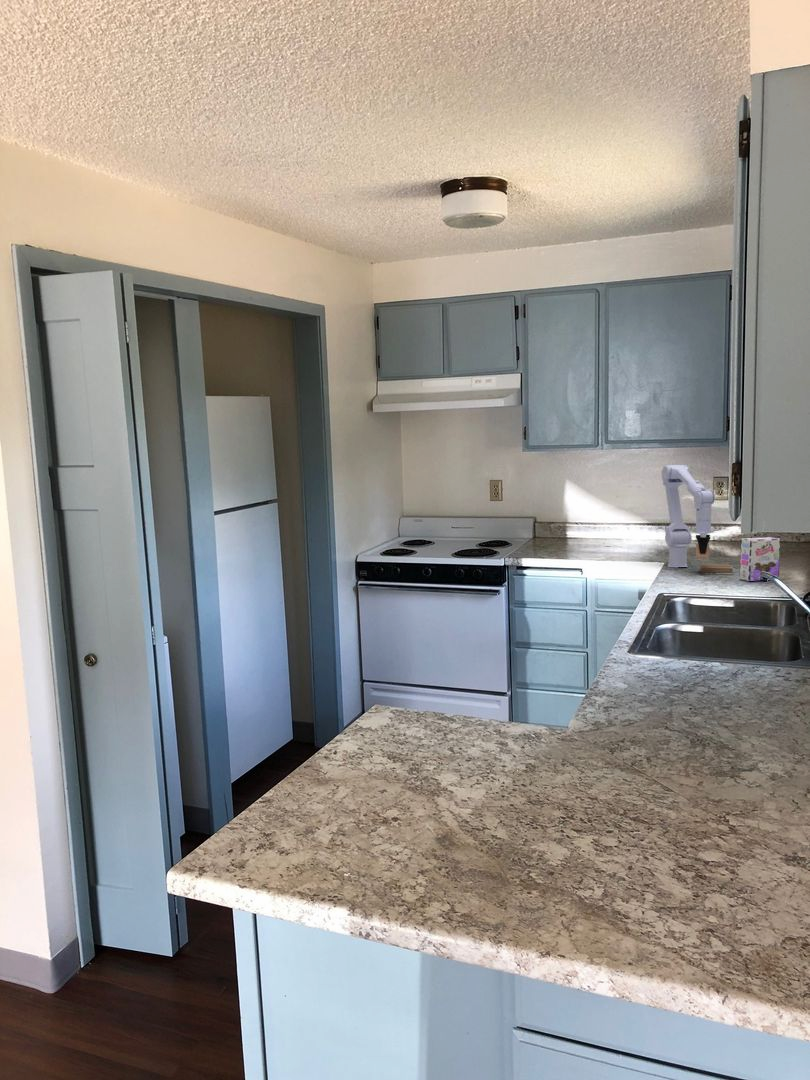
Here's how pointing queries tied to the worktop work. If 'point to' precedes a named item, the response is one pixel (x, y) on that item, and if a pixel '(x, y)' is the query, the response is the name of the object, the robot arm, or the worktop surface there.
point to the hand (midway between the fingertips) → (702, 553)
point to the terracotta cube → (702, 554)
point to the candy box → (759, 557)
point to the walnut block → (715, 568)
